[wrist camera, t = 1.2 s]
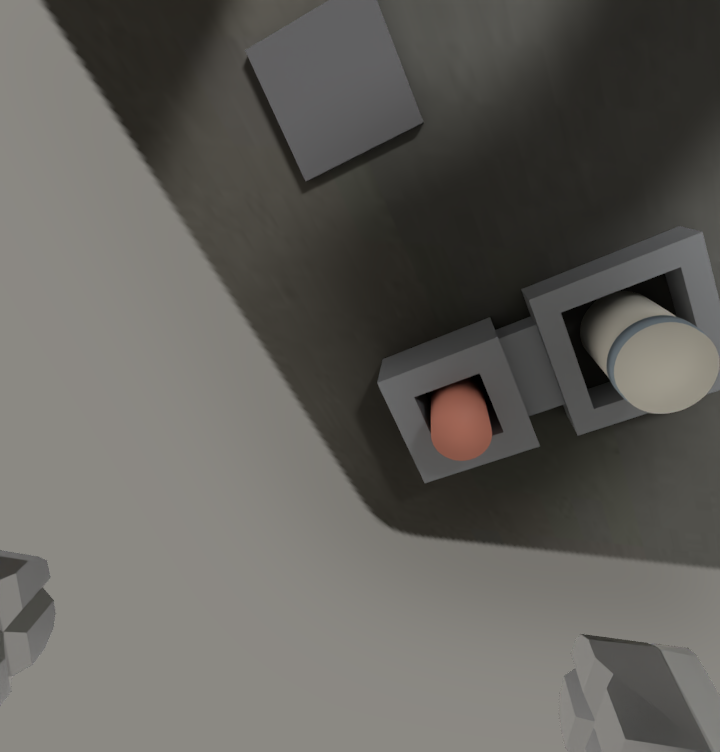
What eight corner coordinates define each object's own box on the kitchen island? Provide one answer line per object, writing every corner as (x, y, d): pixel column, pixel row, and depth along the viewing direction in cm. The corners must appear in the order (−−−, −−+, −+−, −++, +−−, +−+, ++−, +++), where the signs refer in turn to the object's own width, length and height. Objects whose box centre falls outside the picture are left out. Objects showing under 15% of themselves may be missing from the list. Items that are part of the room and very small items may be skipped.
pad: (369, -19, 31) (367, -24, 30) (423, 122, 33) (423, 121, 32) (248, 52, 33) (244, 50, 32) (308, 181, 35) (305, 181, 34)
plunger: (473, 368, 36) (479, 398, 31) (491, 413, 37) (500, 449, 32) (422, 386, 37) (421, 419, 32) (442, 430, 38) (444, 468, 33)
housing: (679, 225, 33) (715, 235, 29) (716, 366, 36) (753, 393, 32) (376, 346, 39) (370, 369, 34) (430, 461, 41) (430, 495, 37)
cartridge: (649, 276, 35) (708, 308, 27) (669, 348, 36) (731, 396, 29) (568, 307, 36) (604, 346, 29) (591, 375, 38) (630, 427, 30)
